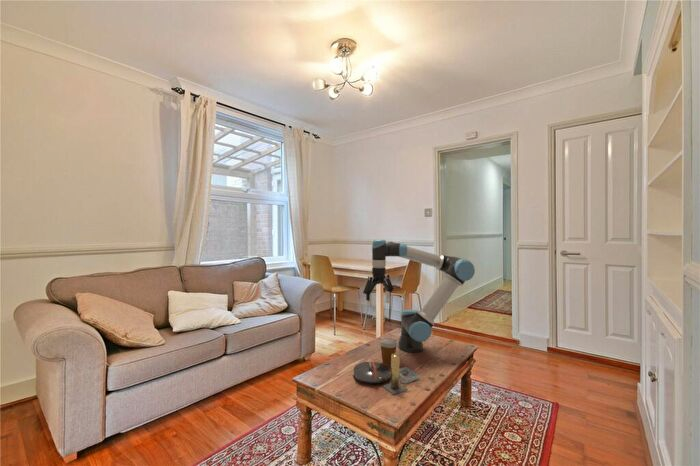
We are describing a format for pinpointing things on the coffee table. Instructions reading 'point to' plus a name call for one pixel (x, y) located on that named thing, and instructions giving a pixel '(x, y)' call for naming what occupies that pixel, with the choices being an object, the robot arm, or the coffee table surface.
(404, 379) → the grey square frame
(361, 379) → the compass
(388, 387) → the rest pad
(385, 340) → the disposable coffee cup
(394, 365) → the yellow tall cylinder
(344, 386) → the coffee table surface
